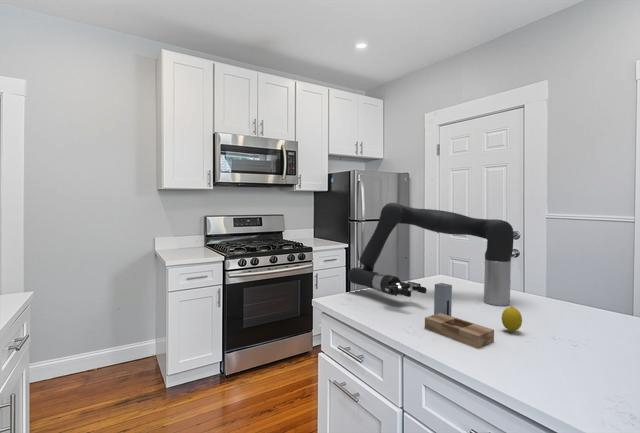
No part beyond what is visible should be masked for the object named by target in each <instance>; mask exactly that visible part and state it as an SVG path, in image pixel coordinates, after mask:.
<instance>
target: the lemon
mask: <svg viewBox="0 0 640 433" xmlns="http://www.w3.org/2000/svg"><path fill="white" fill-rule="evenodd" d="M501 322H502V323H501V324H502V326H503V327H504V328H505V329H507V330H508V331H509V332H510V333H513V332H515V331H517V330H519V329H520V328H521V327H522V323H523V317H522V314H521V312H520V310H518V309H517V308H515V307H514V306H509V307H506V308H505V309H503V311H502V314H501Z"/></svg>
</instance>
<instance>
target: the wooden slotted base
mask: <svg viewBox="0 0 640 433" xmlns="http://www.w3.org/2000/svg"><path fill="white" fill-rule="evenodd" d="M424 329H426V330H428V331H430V332H434V333H437V334H438V335H441V336H444V337H446V338H450V339H452V340H454V341H457V342H460V343H463V344H466V345H468V346H471V347H473V348H476V349H481V348H483V347H485V346H488V345H490V344H492V343H494V342H495V329H493V328H489V327H487V326H484V325H481V324H476V323H474V322H470V321H467V320H465V319H461V318H458V317H455V316H452V315H451V316H449V315H445V314H442V313H439V314H435V315H434V314H432V315H429V316H425V317H424Z"/></svg>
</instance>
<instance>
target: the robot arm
mask: <svg viewBox="0 0 640 433" xmlns="http://www.w3.org/2000/svg"><path fill="white" fill-rule="evenodd" d="M398 224H403V225H404V224H405V225H411V226H415V227H418V228H421V229H425V230H427V231H430V232H434V233H441V234H446V235H455V236H457V235H458V236H462V235H463V236H472V237H477V238H481V239H485V240H486V250H485V253H484V279H483V280H484V281H483V282H484V284H483V302H484V303H487V304H488V305H492V306H500V307H501V306H504V307H505V306H509V305H510V303H511V283H512V282H511V276H512V275H511V274H512V273H511V272H512V271H511V270H512V269H511V267H512V265H511V264H512V263H511V262H512V255H513V251H514V237H515V236H514V234H515V233H514V228H513V226H512V225H511V224H510V222H508V221H506V220H502V219H488V218H487V219H486V218H477V217H471V216H467V215H464V214H462V213H461V214H460V213H457V212H453V211H448V210H440V209H430V208H416V207H411V206H407V205H403V204H399V203H396V202H389V203H386V204H385V205H383V207H382V209H381V211H380V216H379V219H378V222H377V225H376V227H375V229H374V232H373V234H372V235H371V237H370V239H369V241H368V242H367V244H366V245H365V248H364V249H363V251H362V253H361V255H360V257H359V262H360V264H361V265H363V267H362V268H360V267H352V268H350V269H349V271H348V272H347V279H348V280H349V282H350V283H352V284H354V285H358V286H364V287H367V288H370V289H373V290H375V291H378V292H380V293H383V294H387V295H390V296H395V297H396V296H404V297H407V298H411V297H412V293H413V292H416V293H420V294H427V287H425V286H421V283H417V282H413V281H407V282H406V281H401V280H400V278H399V277H398V276H395V275H391V274H387V273H383V272H382V273H381V272H376V271H374V269H375V265H376V263H377V261H378V259H379V258H380V255H381V253H382V251H383V249H384V246H385V244H386V242H387V240H388V238H389V236H390V234H391V233H392V231H394V229H395V228H396V226H397V225H398Z"/></svg>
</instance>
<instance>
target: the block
mask: <svg viewBox="0 0 640 433" xmlns="http://www.w3.org/2000/svg"><path fill="white" fill-rule="evenodd" d="M452 291H453V285H452V284H450V283H445V282H440V283H435V284H434V297H433V298H434V300H433V301H434V302H433V304H434V305H433V315H435V314H439V313H442V314H445V315H449V316H452V305H453V302H452V298H453V297H452V296H453V294H452V293H453V292H452Z"/></svg>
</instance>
